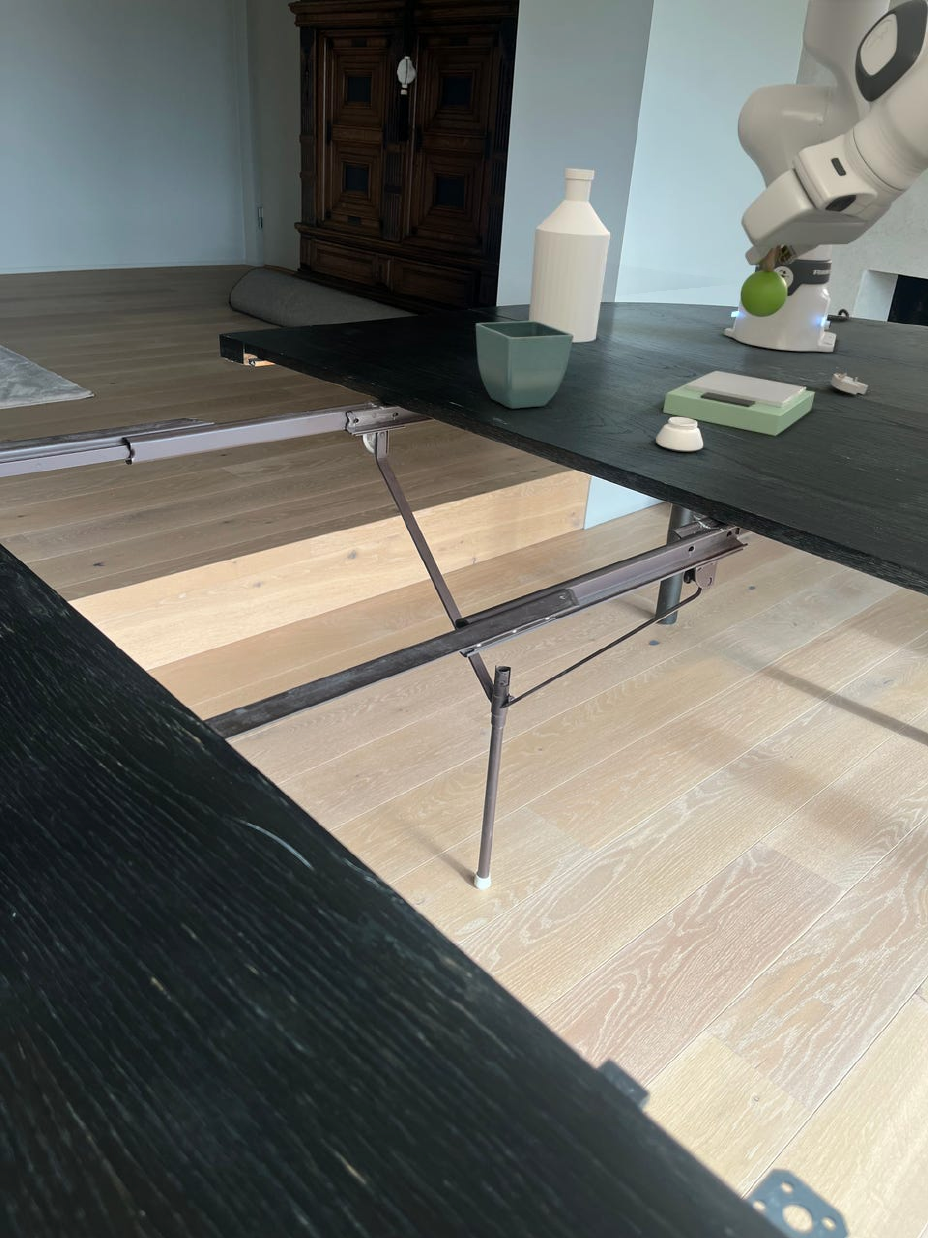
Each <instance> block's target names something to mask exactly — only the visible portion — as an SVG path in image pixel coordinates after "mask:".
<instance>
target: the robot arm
mask: <svg viewBox="0 0 928 1238" xmlns="http://www.w3.org/2000/svg"><path fill="white" fill-rule="evenodd" d="M890 3H891V0H808V3H807V7H806V8H807V9H806V14H805V18H804V19H805V20H804V25H803V30H802V43H803V46H804V49H805V51H806V52H807V54H808V55H809V56H810V58H811V59H813V61H815V62H817V63H818V64H819V65H821V66H823V67H824V68H826V69H828V70H829V71H830V72H831V74H832V75H833V76H834V78H835V80H836V82H837V83H836V84H832V85H820V84H803V83H802V84H801V83H781V84H774V85H768V86H762V87H758V88H756V89H755V90H754V91H753V92H752V93H751V94H750V95H749V97H747V99H746V101H745V102H744V104H743V105H742V107H741V110H740V113H739V115H738V118H737V119H738V120H737V136H738V140H739V144H740V146H741V148H742V150H743V151H744V152H745V154H746V155H747V156H748V157H749V158H750V159H751V160H752V161H753V162H754V164H755V165H756V166H757V169H758V171H759V172H760V174H761V176H762V180H763V182H764V187H765V189H764V190H763V191H762V192H761V193H760V194H759V195H758V197H756V199H755V200H754V201H753V202H752V203H751V204H750V205H749V206H748V207H747V208H746V210H745V211H744V213H743V215H742V217H741V221H740V223H741V227H742V228H743V230H744V233H745V234H746V237H747V238H748V240H749V242H750V243H751V244H752V246H751V247H750V248H749V249H748V250H746V252H745V253H744V257H745V259H746V262H747V263H748V265H749V266H755V268H754V272H753V273H755V272H757V271H760V270H764V269H763V264H762V262H763V261H765V260H766V259H767V258H768V257H769V256H768V255H767V254H768V252H769V251H770V250H771V248H776V247H777V246H778V245H782V246H781V251H780V254H779V256H778V259H777V261H776V262H775V267H774V269H773V271H775V272H777V273H778V274H780V275H781V276H782V277H783V279H784V280H785V282H786V285H787V298H786V301H785V303H784V304H783V306H782V307H781V308H780V309H779V310H778V311H777V312H776V313H774V314H772V315H770V316H767V317H757V316H754V315H751V314H750V313H748V312H747V311H746V310H745V308H744V307H743V305H742V302H741V297H740V298H739V302H738V307H737V310H736V311H731V314H730V315H731V318H734V317H735V319H734V324H733V327H728V328H727V327H726V328H725V329H724V332H723V335H724V336H726V337H730V338H733V339H735V340H736V341H738V342H740V343H743V344H746V345H750V346H755V347H760V348H766V349H772V350H779V351H789V352H790V351H791V352H819V353H820V352H821V353H833V352H834V350H835V349H834V348H835V344H836V339H837V334H836V333H833V332H830V331H826V330H829V329H830V328H831V326H832V323H831V322H844V321H847V320H849V318H850V314H849V312H848V310H846V309H845V308H841V309H840V310H839V311H838V312H837V317H836V316H829V312H830V309H831V308H830V307H831V301H832V299H831V298H830V294H829V291H828V283H829V282H830V277H831V276H830V275H831V273H832V263H833V262H832V259H831V257H832V251H833V247H834V245H849V244H851V243H853V242H855V241H856V240H858V239H859V238H861V237H862V236H863V235H864V234H865V233H866V232H867V231H868V230H870V229H871V228H872V227H873V226H874V225H875V224H876V223H877V222H878V221H880V220H881V218H882V217H884V216H885V214H886V213H888V211H890V209H891V208H892V207H893V203H894V202H895V201H896V200H898V199H899V198H900V197H901V196H902V195H904V194H905V193H906V192H908V191H909V190H910V189H911V188H912V187H913V186H914V185H915V184H916V182H917V181H918V179H919V178H920V177H921V176H922V175H923V173H924V172H925V171H927V169H928V0H908V1H905V2H903V3H900V4H899V5H896V6H894V7H893V8H891V9H890V10H889V7H890ZM843 314H844V316H842V315H843Z"/></svg>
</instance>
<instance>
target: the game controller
mask: <svg viewBox="0 0 928 1238" xmlns="http://www.w3.org/2000/svg"><path fill="white" fill-rule="evenodd" d="M858 380H859V377H858V376H855V378H853V377H851V376H848V374H847V372H843V374H842V373H838V372H837V373H833V376H832V378H831V380H830V383H826V384H829V385H832V386H833V387H834V388H835V389H838V390H840V391H843V392H845V393H849V394H852V395H857V394H861V395H865V394H866V392H867V389H868V387H869V385H868V384H865V383H862V382H859V381H858ZM812 381H813V379H812V380H810V382H812ZM820 381H821V382H823V380H822V379H820ZM790 382H792V383H793V381H792V380H790ZM781 383H785V380H783V381H781ZM808 384H809V382H806V385H808ZM795 385H797V386H798V384H796V383H795ZM803 385H805V384H802V386H803Z"/></svg>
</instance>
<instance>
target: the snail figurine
mask: <svg viewBox="0 0 928 1238" xmlns="http://www.w3.org/2000/svg"><path fill="white" fill-rule="evenodd" d="M781 246H782V245H778V246H777V247H776V248H771V250H770V251H769V252H768V254H767V255H768V256H769V257H768V258H767V259H766V260H765V261H763V262H762V264H763V269H764V270H760V271H757V272H755V271H754V272H755V273H754V272H752V274H750V275H749V276H748V277H747V278H746V279H745V281H744V282H743V284H742V286H741V289H740V298H741V302H742V305H743V307H744V308H745V310H746V311H747V312H748V313H750V314H751V315H754V316H757V317H767V316H770V315H772V314H774V313H776V312H777V311H778V310H779V309H780V308H781V307H782V306H783V304H784V303H785V301H786V298H787V285H786V282H785V280H784V279H783V277H782V276H781V275H780V274H778V273H777V272H775V271H773V269H774V267H775V262H776V261H777V259H778V256H779V254H780V251H781Z"/></svg>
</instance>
